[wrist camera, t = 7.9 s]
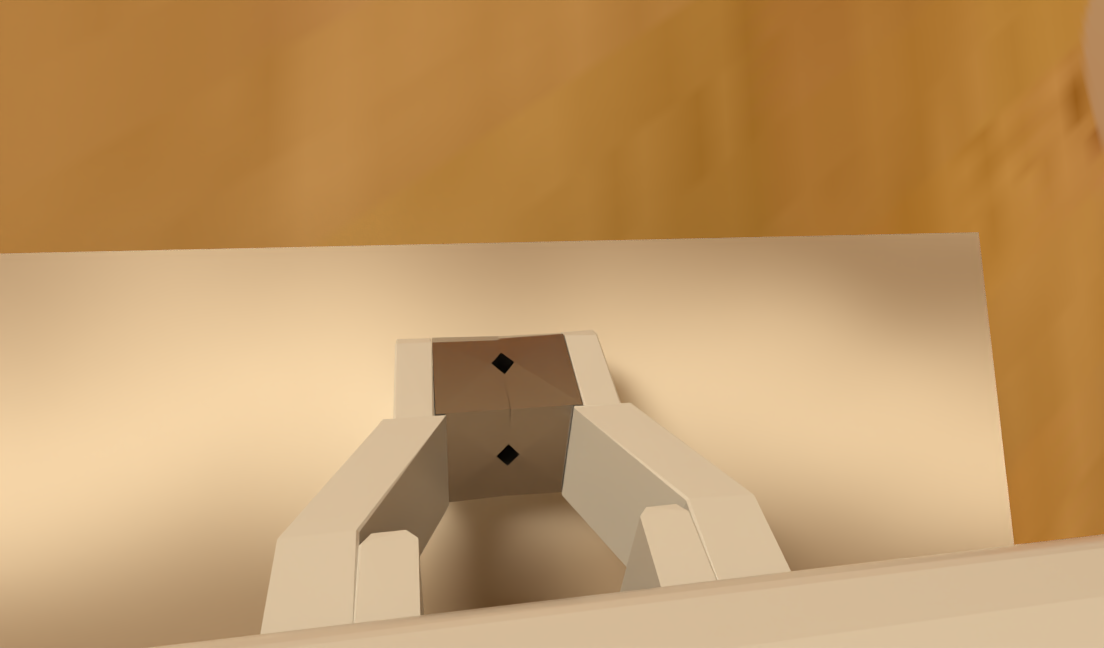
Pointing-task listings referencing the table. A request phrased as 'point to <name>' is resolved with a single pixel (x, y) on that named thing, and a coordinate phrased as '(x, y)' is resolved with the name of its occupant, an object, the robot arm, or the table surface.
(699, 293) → the plank
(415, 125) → the table surface
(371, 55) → the table surface
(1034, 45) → the table surface
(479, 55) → the table surface
